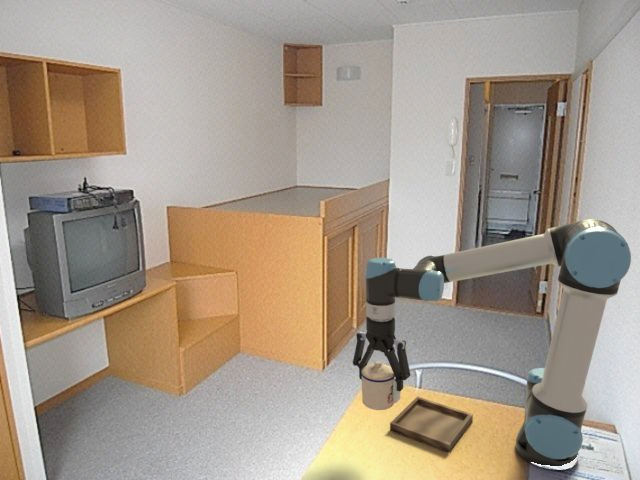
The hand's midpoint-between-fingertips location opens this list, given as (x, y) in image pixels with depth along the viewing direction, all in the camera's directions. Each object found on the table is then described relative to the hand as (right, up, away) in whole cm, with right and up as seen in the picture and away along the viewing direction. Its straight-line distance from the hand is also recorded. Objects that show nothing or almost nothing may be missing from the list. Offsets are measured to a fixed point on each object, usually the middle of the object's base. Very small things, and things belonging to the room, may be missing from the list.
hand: (380, 395), depth 130 cm
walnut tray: (+17, -13, +12) cm, 24 cm away
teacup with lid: (-1, -2, +1) cm, 2 cm away
